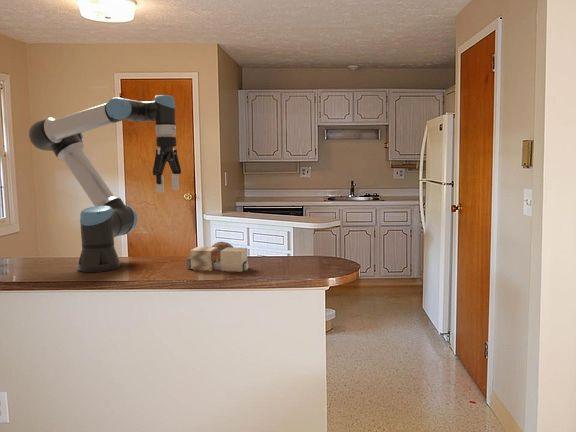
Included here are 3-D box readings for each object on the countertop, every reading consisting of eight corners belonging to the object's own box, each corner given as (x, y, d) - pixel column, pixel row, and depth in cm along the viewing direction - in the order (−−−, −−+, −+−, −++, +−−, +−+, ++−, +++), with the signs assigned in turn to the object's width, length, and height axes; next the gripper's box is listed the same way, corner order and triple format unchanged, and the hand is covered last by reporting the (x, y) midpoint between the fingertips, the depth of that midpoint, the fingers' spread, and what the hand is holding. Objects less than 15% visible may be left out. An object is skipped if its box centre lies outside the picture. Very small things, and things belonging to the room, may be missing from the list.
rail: (185, 269, 195) (185, 249, 194) (193, 265, 202) (192, 246, 201) (244, 271, 190) (244, 251, 189) (250, 267, 197) (249, 248, 196)
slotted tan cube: (190, 269, 194) (190, 250, 194) (198, 265, 202) (197, 246, 201) (212, 270, 193) (212, 250, 192) (219, 266, 200) (218, 247, 199)
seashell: (226, 261, 205) (215, 239, 207) (212, 271, 210) (201, 249, 212) (243, 256, 214) (232, 235, 215) (229, 265, 219) (219, 244, 220)
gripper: (160, 135, 187) (162, 194, 189) (188, 137, 211) (189, 189, 213) (141, 135, 188) (144, 193, 191) (171, 137, 212) (172, 189, 215)
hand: (168, 191), depth 202 cm, fingers open, 13 cm apart
